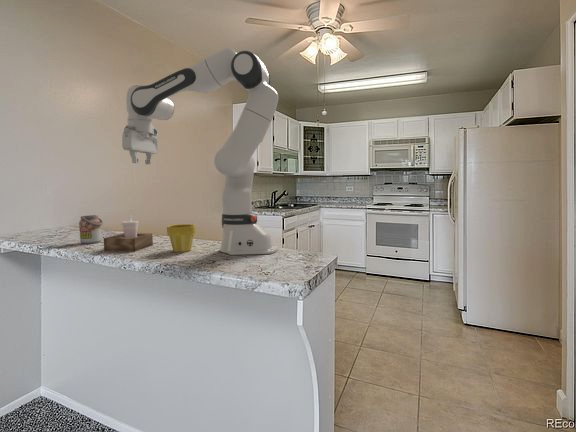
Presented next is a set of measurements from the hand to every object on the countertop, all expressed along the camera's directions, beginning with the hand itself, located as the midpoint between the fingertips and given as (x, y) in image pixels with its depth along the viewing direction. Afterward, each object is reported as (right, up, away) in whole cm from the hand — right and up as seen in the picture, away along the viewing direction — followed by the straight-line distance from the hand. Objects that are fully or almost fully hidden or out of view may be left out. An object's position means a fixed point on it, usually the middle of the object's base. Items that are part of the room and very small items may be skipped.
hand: (142, 163), depth 132 cm
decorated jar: (-29, -33, +15) cm, 46 cm away
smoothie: (-6, -33, +3) cm, 34 cm away
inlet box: (-6, -34, +2) cm, 35 cm away
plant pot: (+18, -35, -4) cm, 39 cm away
